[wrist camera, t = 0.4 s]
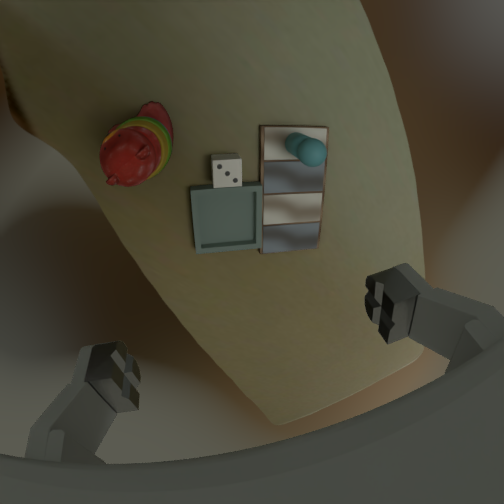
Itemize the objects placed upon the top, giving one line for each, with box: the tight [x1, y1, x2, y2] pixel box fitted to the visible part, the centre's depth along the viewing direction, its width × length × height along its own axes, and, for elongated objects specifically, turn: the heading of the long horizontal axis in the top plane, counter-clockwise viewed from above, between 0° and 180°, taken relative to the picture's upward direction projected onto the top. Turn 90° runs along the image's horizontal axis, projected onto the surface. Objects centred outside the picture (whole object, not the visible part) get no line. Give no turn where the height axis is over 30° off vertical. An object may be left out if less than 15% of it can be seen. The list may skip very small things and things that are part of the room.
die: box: [211, 153, 242, 188], centre depth 49 cm, size 4×4×5 cm
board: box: [259, 125, 329, 254], centre depth 54 cm, size 24×12×1 cm, turn 0°
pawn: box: [285, 132, 327, 167], centre depth 45 cm, size 4×4×10 cm
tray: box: [190, 182, 262, 254], centre depth 54 cm, size 12×12×2 cm
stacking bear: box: [100, 101, 173, 187], centre depth 38 cm, size 11×10×18 cm
